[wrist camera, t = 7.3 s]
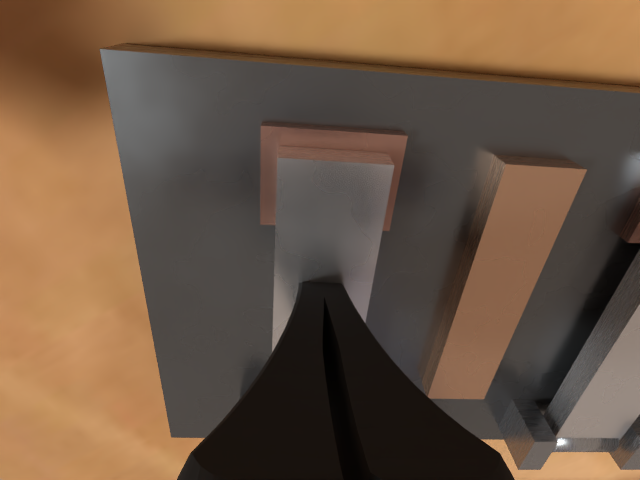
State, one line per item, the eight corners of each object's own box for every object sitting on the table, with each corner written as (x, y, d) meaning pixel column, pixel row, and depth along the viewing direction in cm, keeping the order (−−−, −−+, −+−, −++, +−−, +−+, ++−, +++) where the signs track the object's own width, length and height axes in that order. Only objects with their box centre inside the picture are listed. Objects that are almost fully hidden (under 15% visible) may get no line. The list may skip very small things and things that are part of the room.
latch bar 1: (338, 427, 18) (341, 458, 16) (271, 426, 17) (268, 458, 16) (385, 150, 11) (395, 167, 10) (279, 143, 11) (277, 160, 10)
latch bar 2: (591, 429, 19) (611, 458, 17) (531, 429, 18) (547, 458, 17) (768, 175, 12) (820, 194, 11) (678, 169, 12) (721, 188, 11)
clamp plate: (638, 413, 21) (694, 481, 18) (179, 408, 19) (157, 483, 16) (878, 106, 13) (1052, 137, 10) (122, 43, 11) (57, 58, 8)
